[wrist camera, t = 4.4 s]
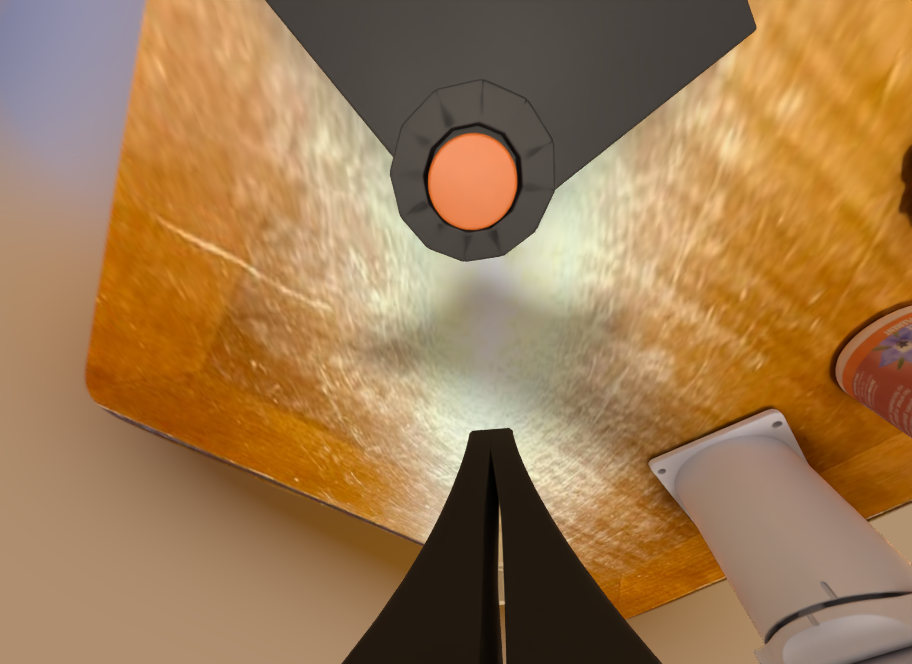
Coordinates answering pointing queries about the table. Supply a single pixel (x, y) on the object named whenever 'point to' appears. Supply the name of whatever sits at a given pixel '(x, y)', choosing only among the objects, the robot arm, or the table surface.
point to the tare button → (472, 181)
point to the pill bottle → (881, 368)
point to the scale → (508, 85)
